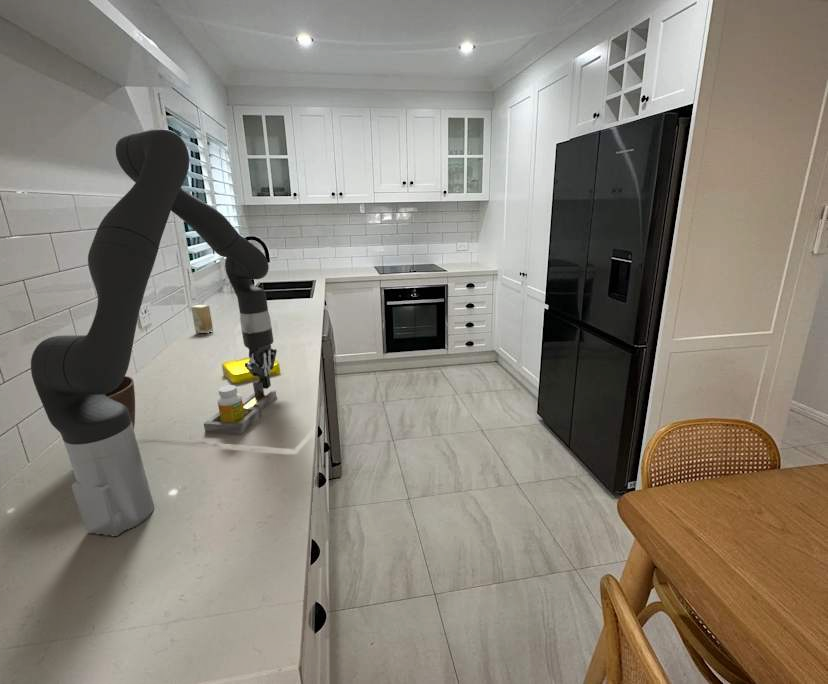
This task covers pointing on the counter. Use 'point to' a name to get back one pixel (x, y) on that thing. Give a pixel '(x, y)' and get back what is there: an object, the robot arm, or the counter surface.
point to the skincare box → (202, 318)
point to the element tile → (243, 370)
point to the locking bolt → (258, 395)
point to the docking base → (239, 428)
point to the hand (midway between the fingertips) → (266, 387)
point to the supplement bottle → (230, 404)
